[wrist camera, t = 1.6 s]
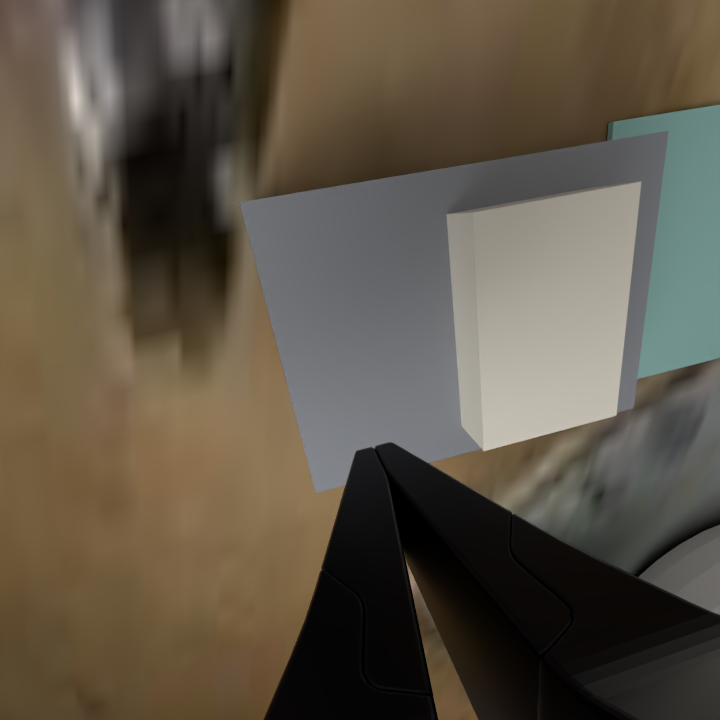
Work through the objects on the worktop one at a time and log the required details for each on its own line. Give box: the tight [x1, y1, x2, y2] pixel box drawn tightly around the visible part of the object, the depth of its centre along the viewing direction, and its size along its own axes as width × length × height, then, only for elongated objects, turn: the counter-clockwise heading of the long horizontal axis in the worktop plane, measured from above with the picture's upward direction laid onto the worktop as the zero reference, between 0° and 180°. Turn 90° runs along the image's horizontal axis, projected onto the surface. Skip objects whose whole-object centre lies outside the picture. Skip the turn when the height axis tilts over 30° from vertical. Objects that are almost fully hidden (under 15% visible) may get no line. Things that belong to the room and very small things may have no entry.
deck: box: [239, 131, 669, 493], centre depth 17 cm, size 12×16×4 cm
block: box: [446, 181, 642, 451], centre depth 14 cm, size 9×6×2 cm, turn 9°
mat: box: [607, 105, 720, 379], centre depth 21 cm, size 14×15×1 cm
